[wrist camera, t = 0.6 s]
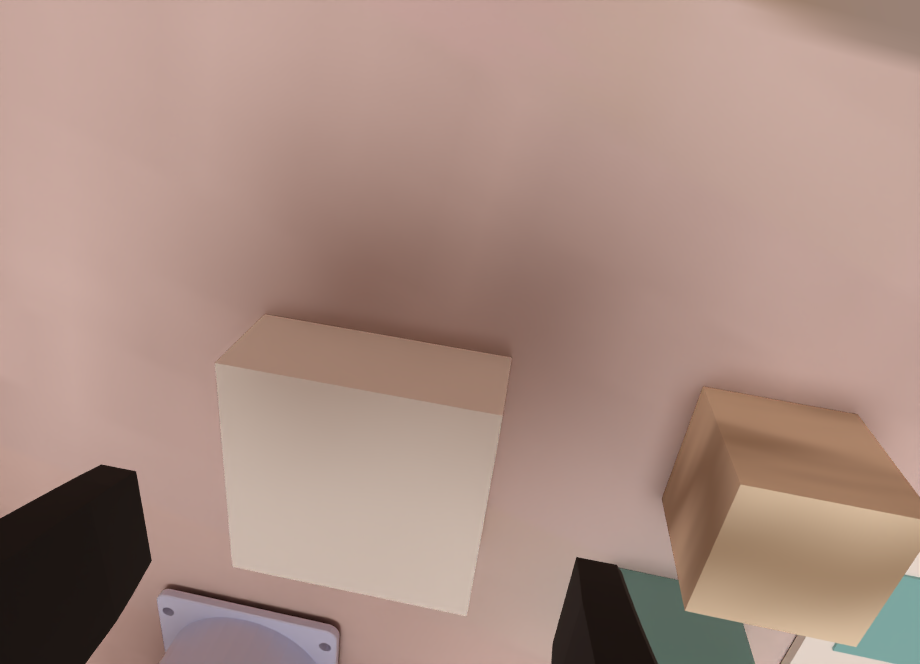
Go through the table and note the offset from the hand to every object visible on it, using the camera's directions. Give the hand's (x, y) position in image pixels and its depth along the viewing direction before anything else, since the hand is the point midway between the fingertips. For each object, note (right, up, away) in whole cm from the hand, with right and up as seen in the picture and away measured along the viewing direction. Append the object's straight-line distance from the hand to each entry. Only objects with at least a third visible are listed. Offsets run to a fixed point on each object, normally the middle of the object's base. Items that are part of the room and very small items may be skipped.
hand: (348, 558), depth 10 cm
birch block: (+11, 0, +9) cm, 14 cm away
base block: (-1, 0, +11) cm, 12 cm away
